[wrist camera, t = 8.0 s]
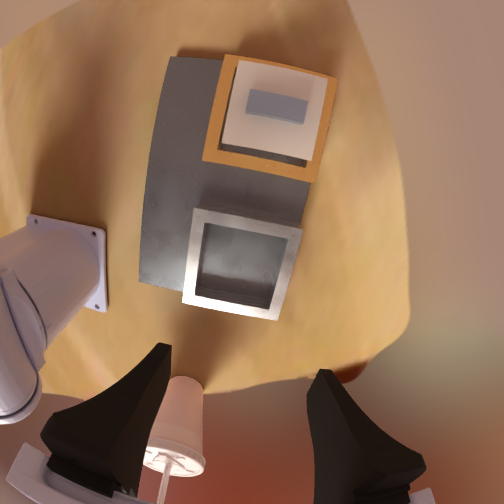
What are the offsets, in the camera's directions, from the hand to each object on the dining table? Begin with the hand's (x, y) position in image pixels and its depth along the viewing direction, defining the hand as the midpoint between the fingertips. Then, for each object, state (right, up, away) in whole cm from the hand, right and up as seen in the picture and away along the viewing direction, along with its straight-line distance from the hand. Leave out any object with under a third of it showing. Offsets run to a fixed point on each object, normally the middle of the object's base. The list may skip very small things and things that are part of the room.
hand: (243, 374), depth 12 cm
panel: (-1, +11, +7) cm, 12 cm away
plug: (+1, +14, +4) cm, 15 cm away
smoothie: (-7, -8, +14) cm, 18 cm away
